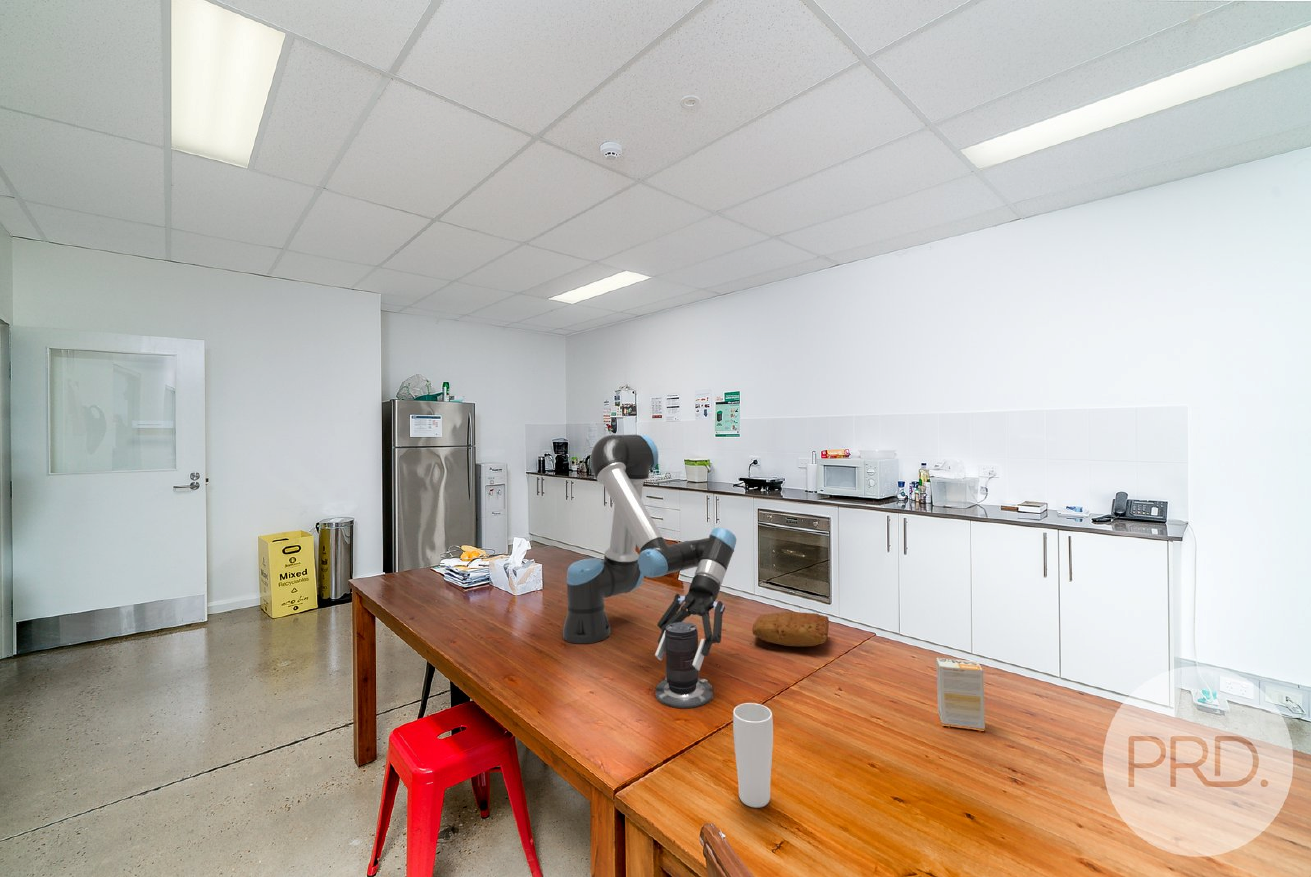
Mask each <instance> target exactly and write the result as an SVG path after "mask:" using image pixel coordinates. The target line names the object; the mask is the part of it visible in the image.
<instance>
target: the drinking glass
mask: <svg viewBox="0 0 1311 877" xmlns="http://www.w3.org/2000/svg"><path fill="white" fill-rule="evenodd" d="M732 713H733V714H732V730H733V731H732V734H733V747H734V753H735V754H734V755H735V763H736V773H737V782H738V785H737V786H738V797H739V799H740V800H741V803H743V804H744V805H746V806H747V807H750V808H756V809H758V808H763V807H765V806H767V805H768V804H769V802H770V801H771V777H772V775H771V774H772V761H773V760H772V759H773V747H774V746H773V744H774V724H773V723H774V722H773V721H774V720H773V713H772V710H771V709H770V708H768V707H767V706H765V705H763V704H760V703H756V702H745V703H741V704H738V705H737V706H735V707H734V709H733V712H732Z"/></svg>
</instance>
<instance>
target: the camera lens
mask: <svg viewBox="0 0 1311 877" xmlns="http://www.w3.org/2000/svg"><path fill="white" fill-rule="evenodd" d="M698 647H699V630H698V629H697V625H696V624H694V623H691V622H686V621H682V622H677V623H672V624H669V625H667V626H666V631H665V649H666V652H665V674H666V675H665V676H666V678H667V683H668V684H669V690H670V691H672V692H673V693H676V694H689V693H692V692H694V691H695V689H696V684H697V682H698V678H699V670H696V669H695V667H694V666H693V665H692V664H693V661H694V659H695V656H696V653H697V650H698Z"/></svg>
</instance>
